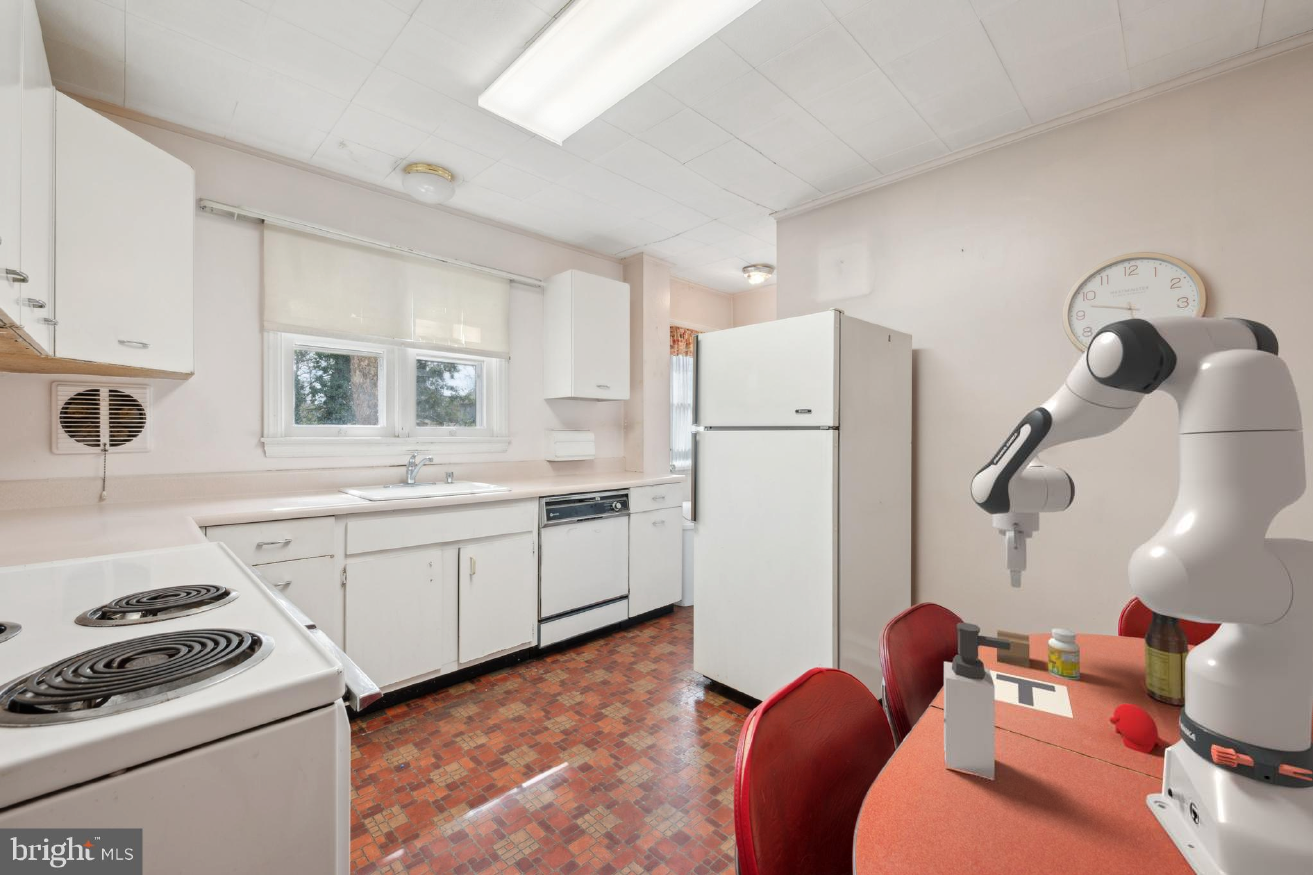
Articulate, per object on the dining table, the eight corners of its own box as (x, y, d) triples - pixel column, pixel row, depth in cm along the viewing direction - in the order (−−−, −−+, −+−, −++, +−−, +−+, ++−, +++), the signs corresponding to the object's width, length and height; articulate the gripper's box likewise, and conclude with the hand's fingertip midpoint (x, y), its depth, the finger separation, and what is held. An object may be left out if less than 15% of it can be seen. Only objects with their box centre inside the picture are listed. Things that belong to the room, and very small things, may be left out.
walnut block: (1029, 671, 116) (1029, 644, 115) (996, 664, 119) (997, 638, 119) (1028, 661, 120) (1028, 635, 120) (997, 655, 124) (997, 629, 124)
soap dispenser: (1012, 785, 79) (1013, 639, 78) (945, 768, 83) (945, 630, 82) (1006, 760, 85) (1006, 625, 84) (943, 746, 88) (943, 616, 88)
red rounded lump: (1104, 707, 94) (1100, 700, 91) (1147, 705, 91) (1144, 698, 88) (1125, 759, 90) (1121, 754, 86) (1170, 759, 86) (1169, 754, 83)
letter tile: (1073, 721, 96) (1073, 718, 96) (982, 699, 103) (982, 696, 103) (1066, 689, 107) (1066, 686, 107) (985, 672, 115) (985, 669, 115)
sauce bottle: (1170, 691, 106) (1171, 594, 106) (1199, 708, 100) (1200, 604, 99) (1135, 690, 107) (1136, 593, 106) (1162, 706, 100) (1163, 603, 100)
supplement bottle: (1084, 683, 110) (1084, 638, 109) (1053, 679, 111) (1053, 634, 111) (1073, 672, 115) (1073, 628, 114) (1044, 668, 116) (1044, 625, 116)
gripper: (1034, 529, 108) (1034, 595, 109) (1030, 515, 125) (1030, 573, 126) (998, 526, 112) (998, 591, 112) (999, 513, 129) (999, 569, 129)
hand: (1015, 581), depth 119 cm, fingers open, 8 cm apart
